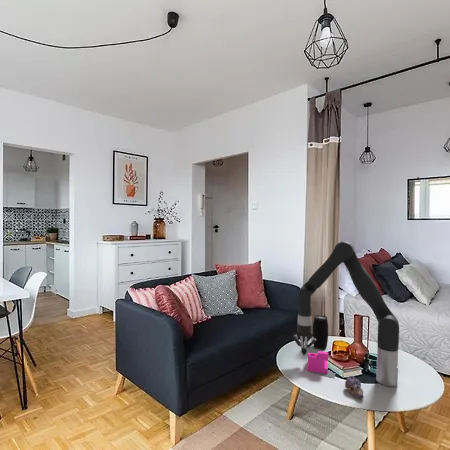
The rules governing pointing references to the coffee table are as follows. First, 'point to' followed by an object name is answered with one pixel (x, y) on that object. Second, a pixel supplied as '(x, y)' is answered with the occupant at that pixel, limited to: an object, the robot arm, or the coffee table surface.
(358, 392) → the purple rock
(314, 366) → the bracket
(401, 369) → the coffee table surface
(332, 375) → the grey mat
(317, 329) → the portable speaker
